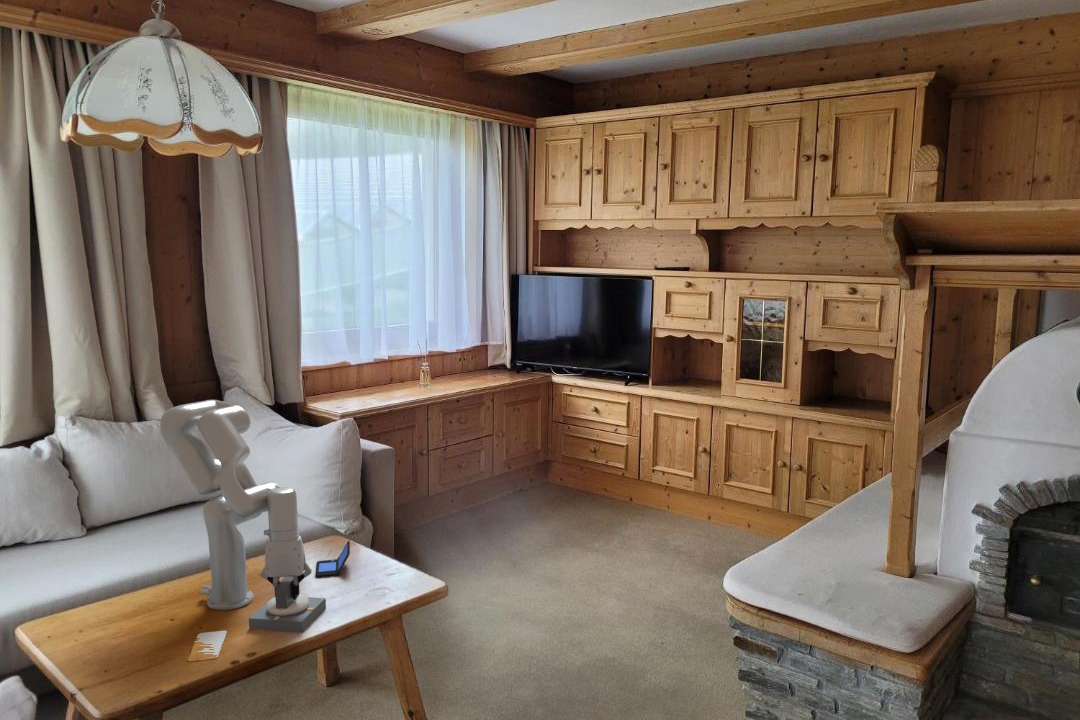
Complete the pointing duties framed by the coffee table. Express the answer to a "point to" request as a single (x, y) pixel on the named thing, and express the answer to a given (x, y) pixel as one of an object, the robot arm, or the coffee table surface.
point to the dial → (286, 600)
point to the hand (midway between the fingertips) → (287, 597)
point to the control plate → (288, 618)
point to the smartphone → (212, 641)
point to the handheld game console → (332, 564)
